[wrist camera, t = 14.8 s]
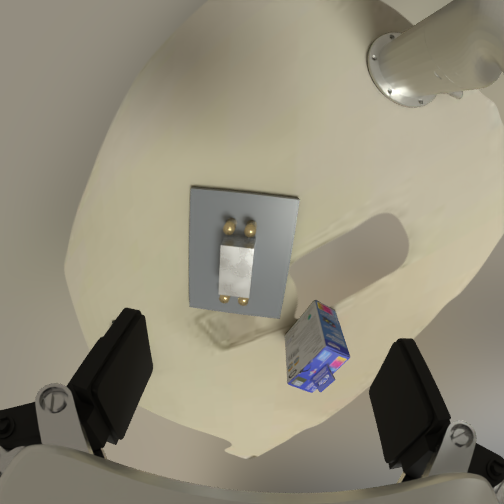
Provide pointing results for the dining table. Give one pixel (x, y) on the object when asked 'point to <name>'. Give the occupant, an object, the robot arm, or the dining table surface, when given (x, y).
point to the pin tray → (246, 224)
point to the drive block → (236, 265)
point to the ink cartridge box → (315, 348)
